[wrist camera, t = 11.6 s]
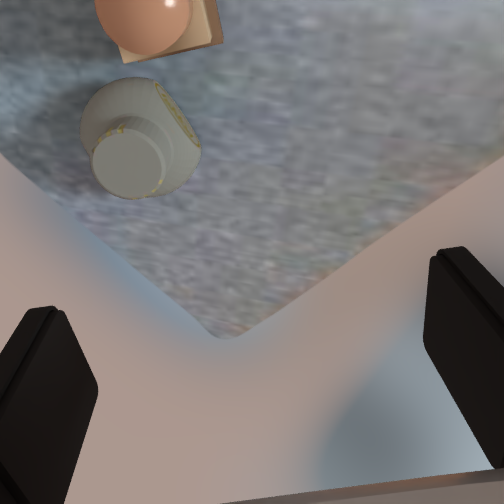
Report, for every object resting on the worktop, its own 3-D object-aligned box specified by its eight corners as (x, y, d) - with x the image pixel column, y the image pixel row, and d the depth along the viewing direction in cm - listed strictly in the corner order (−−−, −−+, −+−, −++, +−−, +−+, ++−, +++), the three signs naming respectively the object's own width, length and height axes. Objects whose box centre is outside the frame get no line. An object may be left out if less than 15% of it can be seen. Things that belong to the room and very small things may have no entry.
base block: (203, -57, 35) (200, -64, 31) (223, 37, 39) (223, 43, 34) (120, -37, 35) (106, -41, 31) (147, 54, 39) (138, 62, 35)
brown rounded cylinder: (182, -50, 26) (171, -58, 22) (201, 37, 29) (194, 45, 24) (105, -32, 26) (80, -37, 22) (131, 52, 29) (112, 62, 25)
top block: (191, -57, 31) (184, -66, 26) (212, 35, 34) (210, 42, 29) (111, -36, 31) (88, -42, 26) (139, 53, 34) (124, 63, 29)
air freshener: (213, 155, 44) (210, 194, 35) (149, 196, 46) (131, 242, 37) (145, 55, 39) (122, 73, 30) (75, 106, 41) (36, 136, 32)
